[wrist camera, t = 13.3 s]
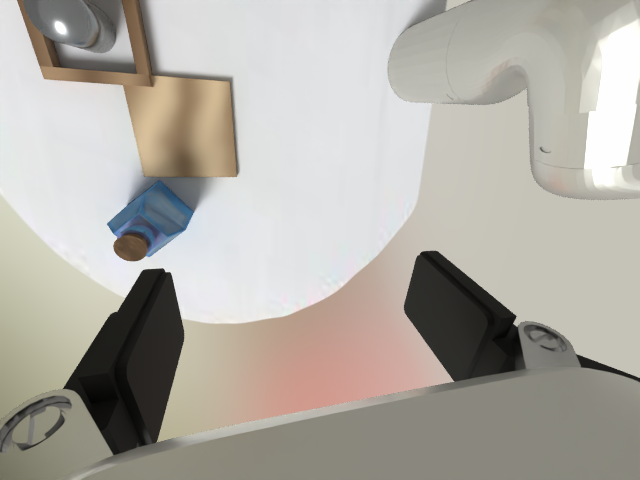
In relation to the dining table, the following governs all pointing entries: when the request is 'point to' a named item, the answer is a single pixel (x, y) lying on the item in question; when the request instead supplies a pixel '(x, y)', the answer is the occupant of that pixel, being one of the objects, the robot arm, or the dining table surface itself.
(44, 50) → the collar
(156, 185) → the perfume bottle
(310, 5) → the dining table surface
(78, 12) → the peg
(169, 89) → the mat
